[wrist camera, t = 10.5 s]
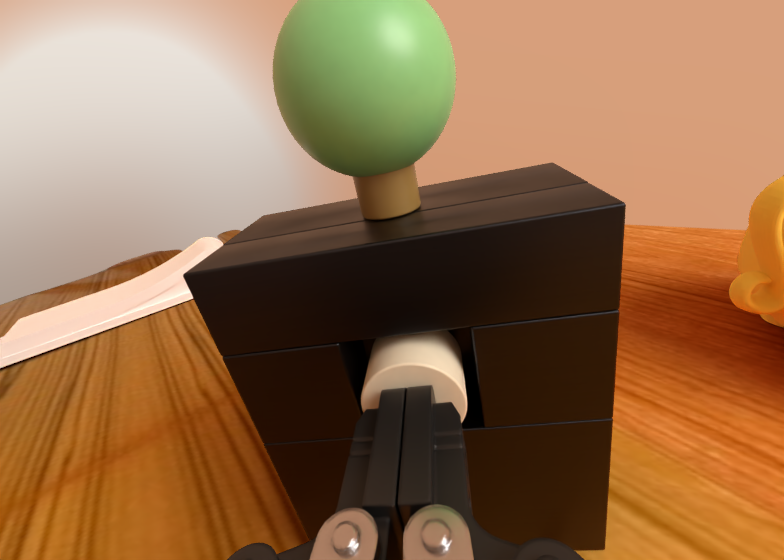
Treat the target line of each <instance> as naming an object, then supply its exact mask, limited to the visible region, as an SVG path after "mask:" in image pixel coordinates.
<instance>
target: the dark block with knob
mask: <svg viewBox="0 0 784 560" xmlns="http://www.w3.org/2000/svg"><path fill="white" fill-rule="evenodd" d="M273 82H274V91H275V95H276V99H277V104H278V106H279V109H280V112H281V115H282V117H283V119H284V121H285V123H286V125H287V127H288V129H289V131H290V132H291V134H292V135H293V137H294V138H295V140H296V141H297V142H298V143H299V145H300V146H301V147H302V148H303V149H304V150H305V151H306V152H307V153H308V154H309V155H310V156H311V157H312V158H314V159H315V160H317V161H318V162H319V163H321V164H322V165H324V166H326V167H328V168H330V169H331V170H334V171H336V172H339V173H342V174H345V175H349V176H353V180H354V184H355V188H356V192H357V196H358V198H357V199H351V200H346V201H340V202H336V203H330V204H324V205H319V206H313V207H308V208H303V209H297V210H291V211H286V212H281V213H275V214H270V215H264V216H262V217H261V218H259V219H258V220H257V221H255V222H254V223H253V224H251V225H250V226H248V227H247V228H246V229H244V230H243V231H241V232H240V233H239V234H237V235H236V236H235V237H233V238H232V239H230V240H229V241H228V242H226V243H225V244H224V245H223V246H221V247H220V248H219V249H217V250H216V251H214V252H213V253H212V254H210V255H209V256H208V257H206V258H205V259H203V260H202V261H201V262H199V263H198V264H197V265H195V266H194V267H192V268H191V269H190V270H188V271H187V272H186V273H184V274H183V278H184V280H185V282H186V284H187V286H188V288H189V290H190V292H191V294H192V296H193V298H194V300H195V302H196V305H197V307H198V309H199V311H200V313H201V315H202V317H203V319H204V321H205V323H206V325H207V327H208V329H209V332H210V334H211V336H212V338H213V340H214V342H215V344H216V346H217V348H218V350H219V352H220V354H221V355H222V356H223V361H224V363H225V365H226V367H227V369H228V371H229V373H230V375H231V377H232V379H233V381H234V383H235V386H236V388H237V390H238V392H239V394H240V396H241V398H242V400H243V402H244V404H245V406H246V408H247V410H248V413H249V415H250V417H251V419H252V421H253V423H254V425H255V427H256V429H257V431H258V433H259V435H260V437H261V439H262V442H263V443H264V446H265V448H266V450H267V453H268V455H269V457H270V459H271V461H272V463H273V465H274V467H275V469H276V471H277V473H278V475H279V477H280V479H281V482H282V484H283V486H284V488H285V490H286V492H287V494H288V496H289V498H290V500H291V502H292V504H293V506H294V508H295V511H296V513H297V515H298V517H299V519H300V521H301V523H302V525H303V527H304V529H305V531H306V533H307V535H308V537H309V540H310V541H311V540H312V539H314V538H315V537H317V535H318V533H319V531H320V529H321V527H322V526H323V524H324V523H325V522H326V521H327V520H328V519H329V518H330V517H331V516H332V515H334V514H335V512H336V509H337V505H338V501H339V496H340V492H341V487H342V483H343V479H344V474H345V470H346V466H347V461H348V457H349V456H350V453H349V452H350V448H351V444H352V443H353V440H352V439H353V435H354V430H355V426H356V423H357V421H358V420H359V419H360V417H361V416H362V414H363V413H364V412H363V410H362V405H361V394H362V390H363V385H364V381H365V377H366V372H367V368H368V363H369V359H370V355H371V350H372V347H373V344H374V342H375V340H376V338H381V337H389V336H398V335H406V334H415V333H423V332H432V331H440V330H447V331H448V332H449V333H450V334H452V335H453V337H454V338H455V339H456V341H457V342H458V344H459V347H460V350H461V354H462V363H463V371H464V379H465V387H466V395H467V412H466V416H465V418H464V420H463V422H462V429H463V435H464V441H465V447H466V453H467V463H468V473H469V483H470V492H471V502H472V512H473V517H474V519H475V520H476V521H477V523H478V524H479V525H480V526H481V527H482V528H483V529H484V530H485V531H487V532H488V533H490V534H491V535H493V536H495V537H497V538H500V539H503V540H506V541H509V542H512V543H515V544H518V545H522V544H523V543H525V542H526V541H528V540H530V539H534V538H541V537H543V538H551V539H555V540H557V541H560V542H562V543H564V544H566V545H567V546H569V547H570V548H571V549H573V550H604V549H605V537H606V521H607V505H608V488H609V472H610V456H611V440H612V424H613V419H612V417H613V404H614V388H615V372H616V356H617V339H618V323H619V310H618V309H619V305H620V288H621V272H622V256H623V239H624V223H625V206H626V205H625V203H624V202H622V201H620V200H619V199H617V198H615V197H613V196H611V195H610V194H608V193H606V192H604V191H602V190H600V189H599V188H597V187H595V186H593V185H591V184H589V183H588V182H587V181H585V180H583V179H581V178H580V177H578V176H576V175H574V174H572V173H571V172H569V171H567V170H565V169H563V168H562V167H560V166H558V165H556V164H554V163H548V164H542V165H537V166H531V167H526V168H521V169H515V170H509V171H504V172H498V173H493V174H488V175H482V176H477V177H472V178H466V179H461V180H455V181H449V182H444V183H439V184H434V185H428V186H422V187H418V184H417V178H416V173H415V166H414V163H415V162H416V161H417V160H418V159H420V158H421V157H422V156H423V155H424V154H425V153H426V152H427V151H428V150H429V149H430V148H431V147H432V146H433V145H434V143H435V142H436V141H437V139H438V138H439V136H440V134H441V133H442V131H443V129H444V127H445V125H446V122H447V120H448V118H449V115H450V112H451V109H452V105H453V100H454V95H455V84H456V72H455V61H454V55H453V50H452V47H451V43H450V40H449V37H448V34H447V32H446V30H445V28H444V26H443V23H442V22H441V20H440V18H439V17H438V15H437V13H436V12H435V11H434V9H433V8H432V7H431V6H430V4H429V3H428V2H427V1H426V0H298V2H297V3H296V4H295V5H294V6H293V8H292V9H291V11H290V12H289V14H288V16H287V17H286V19H285V21H284V23H283V26H282V28H281V31H280V33H279V35H278V39H277V43H276V46H275V51H274V59H273Z"/></svg>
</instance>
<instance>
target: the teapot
mask: <svg viewBox="0 0 784 560" xmlns="http://www.w3.org/2000/svg"><path fill="white" fill-rule="evenodd" d="M737 263H738V270H739V272H740V275H739V276H738V277H737V278H735V279H734V281H733V282H732V283H731V285H730V288H729V295H730V299H731V301H732V302H733V304H734V305H735V306H736V307H737V308H739V309H742V310H744V311H747V312H751V313H756V314H760V316H761V317H762V318H763V319H764V320H765V321H767V322H769V323H771V324H774V325H776V326H780V327H784V175H783V176H782V177H781V178H779V179H777V180H776V181H774V182H773V183H771V184H770V185H769V186H767V187H766V188H765V189H764V190H763V191H762V192H761V193H760V194H759V195H758V196H757V198H756V199H755V201H754V203H753V205H752V207H751V210H750V214H749V226H748V229H747V230H746V233H745V235H744V238H743V240H742V243H741V245H740V250H739V254H738V260H737Z"/></svg>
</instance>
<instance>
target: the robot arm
mask: <svg viewBox="0 0 784 560" xmlns="http://www.w3.org/2000/svg"><path fill="white" fill-rule="evenodd" d="M352 440H353V443H352V444H351V448H350V452H349V453H350V456H349V457H348V461H347V466H346V470H345V474H344V479H343V483H342V487H341V492H340V496H339V501H338V505H337V509H336V512H335V514H334V515H332V516H331V517H330V518H329V519H328V520H327V521H326V522H325V523H324V524H323V526H322V527H321V529H320V531H319V533H318V535H317V537H315V538H314V539H312V540H311V541H309V542H307V543H305V544H302V545H300V546H297V547H294V548H292V549H289V550H287V551H284V552H282V553H279V554H276V552H275V551H274V549H273V548H272V547H271V546H269V545H268V544H265V543H253V544H250V545H247V546H245V547H243V548H241V549H239V550H238V551H236V552H235V553H234V554H233V555H232V556H230V557H229V558H228V559H227V560H584V559H583V558H582V557H581V556H580V555H579V554H577V553H576V552H575V551H574V550H573V549H571V548H570V547H569V546H567V545H566V544H564V543H562V542H560V541H557V540H555V539H551V538H543V537H541V538H534V539H530V540H528V541H526V542H525V543H523V544H522V545H518V544H515V543H512V542H509V541H506V540H503V539H500V538H497V537H495V536H493V535H491V534H490V533H488V532H487V531H485V530H484V529H483V528H482V527H481V526H480V525H479V524H478V523H477V521H476V520H475V519H474V517H473V512H472V502H471V492H470V483H469V473H468V463H467V453H466V447H465V441H464V435H463V429H462V423H461V417H460V414H459V413H458V411H457V409H456V408H455V406H454V405H453V403H452V402H445V403H436V400H435V395H434V390H433V386H432V385H426V386H416V387H408V388H395V389H385V390H382V391H381V395H380V401H379V407H378V408H375V409H366V410H365V411H364V413H363V414H362V416H361V417H360V419H359V420H358V421H357V423H356V426H355V430H354V435H353V439H352Z"/></svg>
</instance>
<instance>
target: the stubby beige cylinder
mask: <svg viewBox="0 0 784 560" xmlns="http://www.w3.org/2000/svg"><path fill="white" fill-rule="evenodd" d="M426 385H432V386H433V390H434V395H435V400H436V403H445V402H452V403H453V405H454V406H455V408H456V409H457V411H458V413H459V414H460V417H461V423H462V422H463V420H464V418H465V416H466V412H467V395H466V387H465V379H464V371H463V363H462V354H461V350H460V347H459V344H458V342H457V341H456V339H455V338H454V337H453V335H452V334H450V333H449V332H448V331H447V330H440V331H432V332H423V333H415V334H406V335H398V336H389V337H381V338H376V340H375V342H374V344H373V347H372V350H371V355H370V359H369V363H368V368H367V372H366V377H365V381H364V385H363V390H362V394H361V405H362V410H363V412H364V411H365V410H366V409H375V408H378V407H379V401H380V395H381V391H382V390H385V389H395V388H408V387H416V386H426Z"/></svg>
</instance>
